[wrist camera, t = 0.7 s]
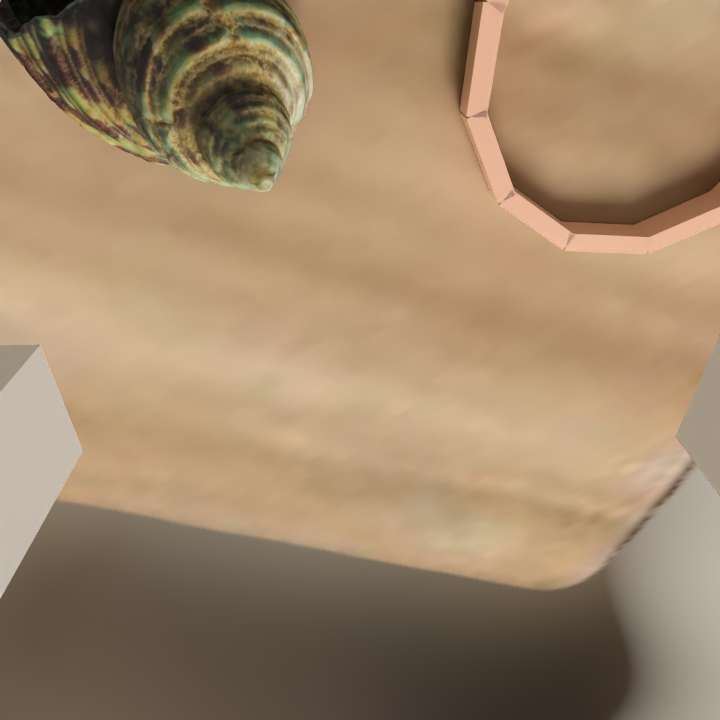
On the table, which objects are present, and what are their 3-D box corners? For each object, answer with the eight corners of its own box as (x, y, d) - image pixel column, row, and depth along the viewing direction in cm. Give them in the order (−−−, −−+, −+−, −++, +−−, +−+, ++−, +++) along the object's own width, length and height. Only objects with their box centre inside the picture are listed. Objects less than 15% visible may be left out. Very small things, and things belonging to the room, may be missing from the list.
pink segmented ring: (394, 125, 29) (397, 133, 27) (669, -306, 20) (697, -334, 19) (628, 291, 34) (643, 306, 32) (919, 5, 26) (958, 5, 24)
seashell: (198, -159, 22) (107, -255, 14) (353, 92, 28) (354, 131, 19) (33, 11, 26) (-121, 15, 17) (200, 207, 31) (144, 283, 23)
